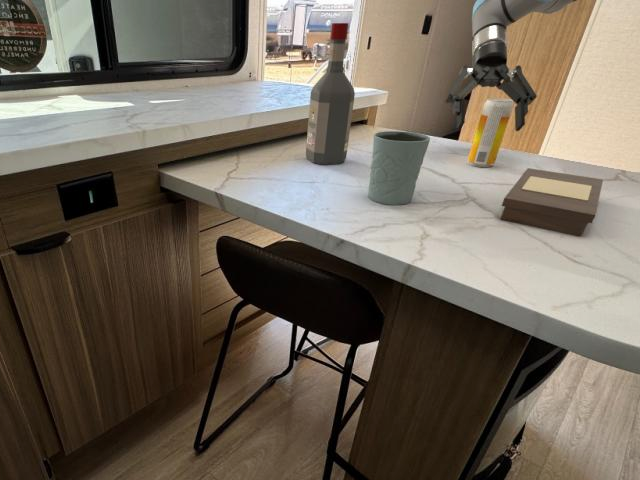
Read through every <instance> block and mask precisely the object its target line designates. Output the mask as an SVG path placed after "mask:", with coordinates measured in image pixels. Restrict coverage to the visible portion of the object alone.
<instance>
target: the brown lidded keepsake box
mask: <svg viewBox="0 0 640 480" xmlns="http://www.w3.org/2000/svg"><path fill="white" fill-rule="evenodd" d="M603 182H604V179H602V178H596V177H590V176H582V175H576V174H571V173H563V172H556V171H550V170H545V169H544V170H543V169H536V168H529V167H527V168H526V169H525V171H524V172H523V173H522V174H521V176H520V177H519V179H518V180H517V181H516V182H515V184H514V185H513V186H512V187H511V189H510V190H509V191H508V193H507V194H506V195H505V197H504V198H503V201H502V203H501V207H504V209H503V210H502V214H501V216H500V220H504V221H507V222H511V223H518V224H522V225H526V226H531V227H535V228H541V229H545V230H548V231H549V230H550V231H554V232H558V233H563V234H568V235H573V236H578V237H582V235H583V233H584V231H585V229H586V227H587V226H588V224H593V222H594V220H595V217H596V215H597V210H598V207H599V200H600V197H601V192H602V187H603Z"/></svg>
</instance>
